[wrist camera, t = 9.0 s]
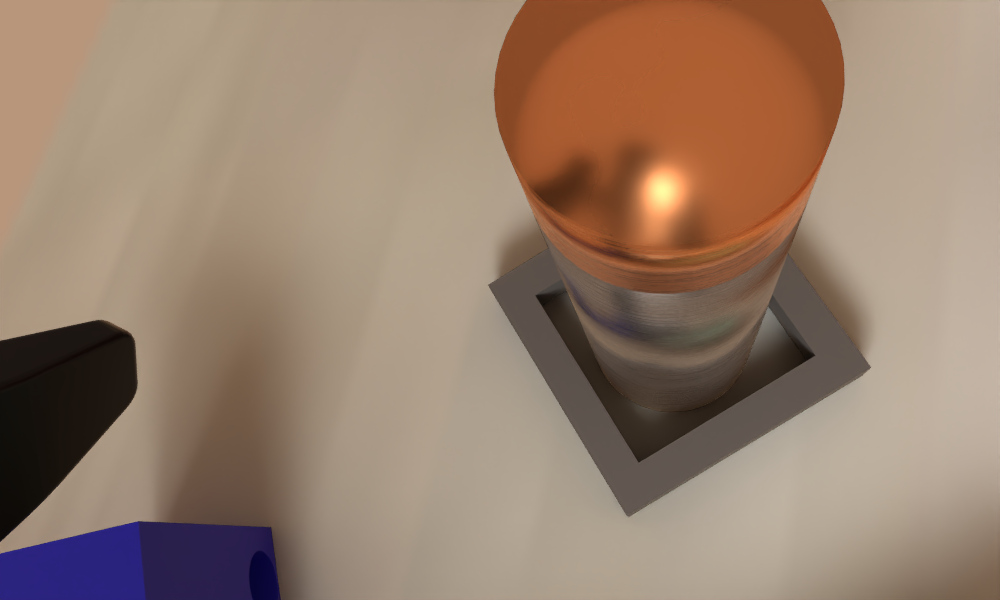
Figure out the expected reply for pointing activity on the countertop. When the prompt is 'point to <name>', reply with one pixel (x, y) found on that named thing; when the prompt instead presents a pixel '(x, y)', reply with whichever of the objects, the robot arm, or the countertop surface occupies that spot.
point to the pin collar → (712, 441)
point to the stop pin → (669, 170)
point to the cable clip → (146, 565)
